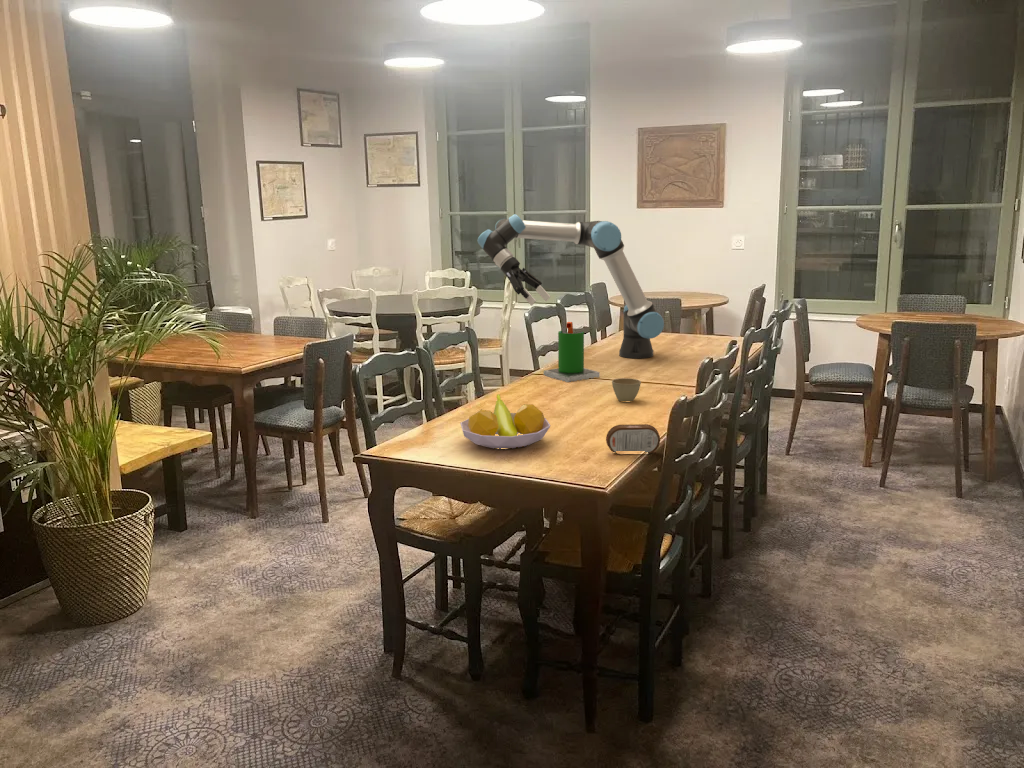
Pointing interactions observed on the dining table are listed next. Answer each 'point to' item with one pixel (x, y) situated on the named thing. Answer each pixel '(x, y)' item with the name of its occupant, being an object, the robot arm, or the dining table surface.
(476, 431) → the fruit bowl
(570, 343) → the green cylindrical container
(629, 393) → the flower pot
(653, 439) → the tin
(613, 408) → the dining table surface
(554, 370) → the grey flat square slab
